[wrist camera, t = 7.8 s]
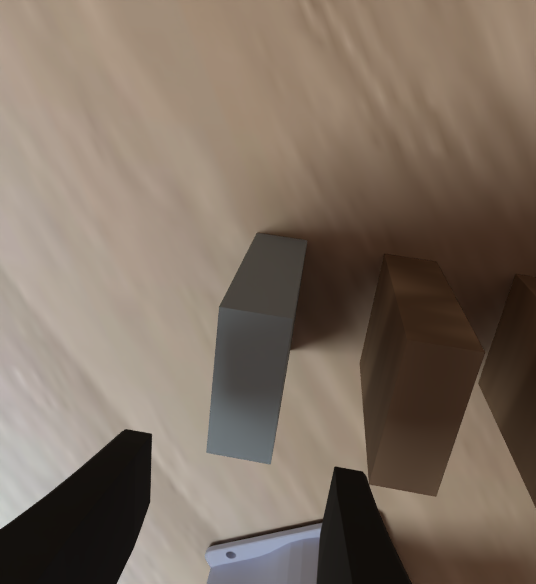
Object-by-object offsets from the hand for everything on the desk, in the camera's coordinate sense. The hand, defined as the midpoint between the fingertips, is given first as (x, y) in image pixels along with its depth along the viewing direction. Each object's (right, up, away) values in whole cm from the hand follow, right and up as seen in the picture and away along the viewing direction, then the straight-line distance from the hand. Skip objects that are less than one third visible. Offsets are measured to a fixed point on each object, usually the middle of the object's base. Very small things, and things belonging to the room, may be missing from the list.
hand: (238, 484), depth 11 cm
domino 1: (+1, +4, +10) cm, 10 cm away
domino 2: (+6, +3, +9) cm, 11 cm away
